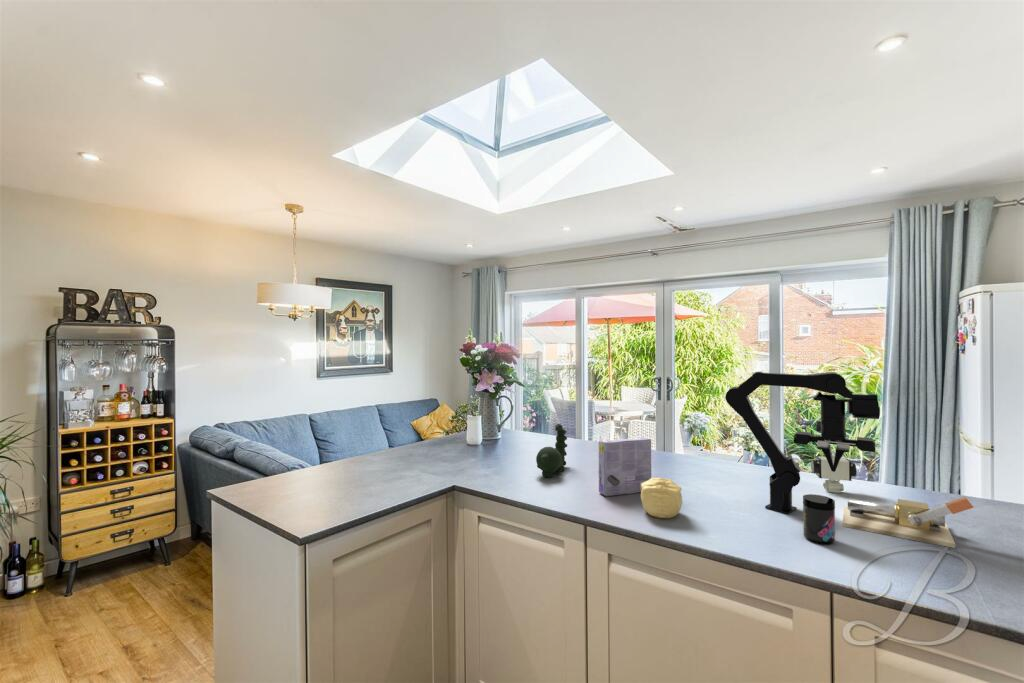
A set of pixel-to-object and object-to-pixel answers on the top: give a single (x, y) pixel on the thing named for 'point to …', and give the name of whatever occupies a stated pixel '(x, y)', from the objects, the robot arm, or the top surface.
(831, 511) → the supplement container
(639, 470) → the cake pan box
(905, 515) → the valve pipe
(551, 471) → the toy figurine
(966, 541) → the top surface
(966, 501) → the valve lever
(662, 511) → the sculpture
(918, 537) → the mounting board
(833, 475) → the pneumatic valve
